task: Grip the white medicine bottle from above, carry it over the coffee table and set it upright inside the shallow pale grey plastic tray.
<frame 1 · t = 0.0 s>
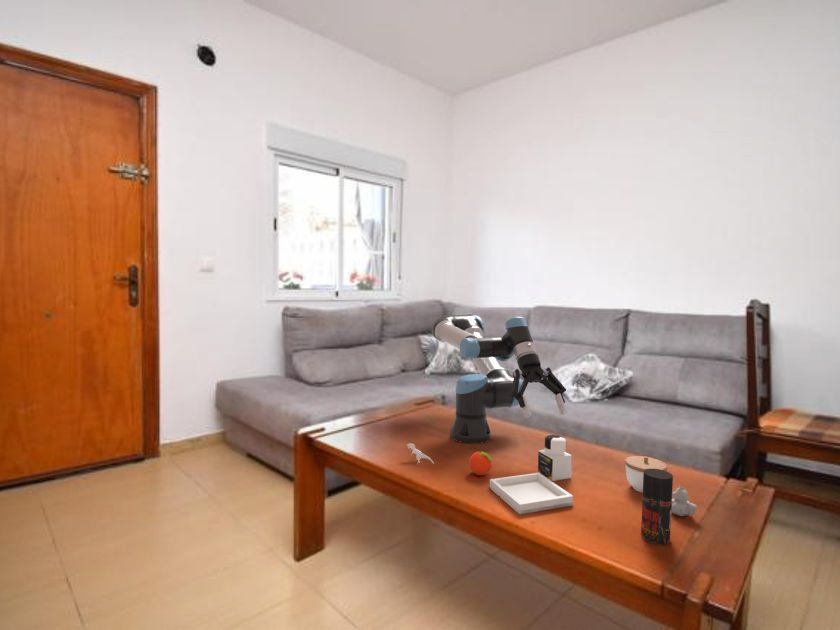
hand: (546, 415, 151), 15 cm above the table, tool tilted 35°, fingers open, 13 cm apart
dinosaur figurine: (418, 464, 149), on the table
tray: (529, 496, 126), on the table
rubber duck: (682, 516, 116), on the table
clementine: (481, 475, 140), on the table
medicine bottle: (554, 476, 140), on the table
deodorant: (655, 538, 106), on the table
lidded jar: (644, 489, 131), on the table
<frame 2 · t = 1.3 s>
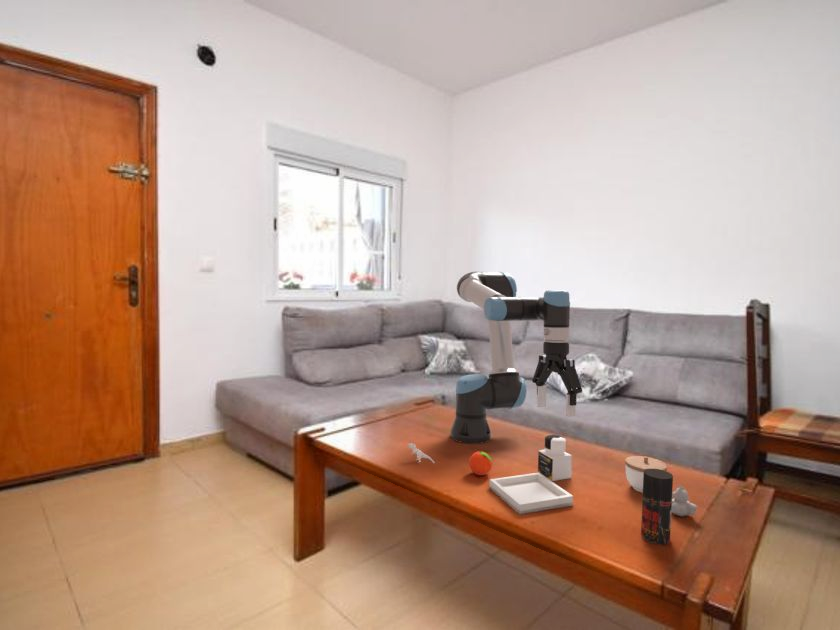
hand: (555, 411, 140), 19 cm above the table, tool pointing down, fingers open, 13 cm apart
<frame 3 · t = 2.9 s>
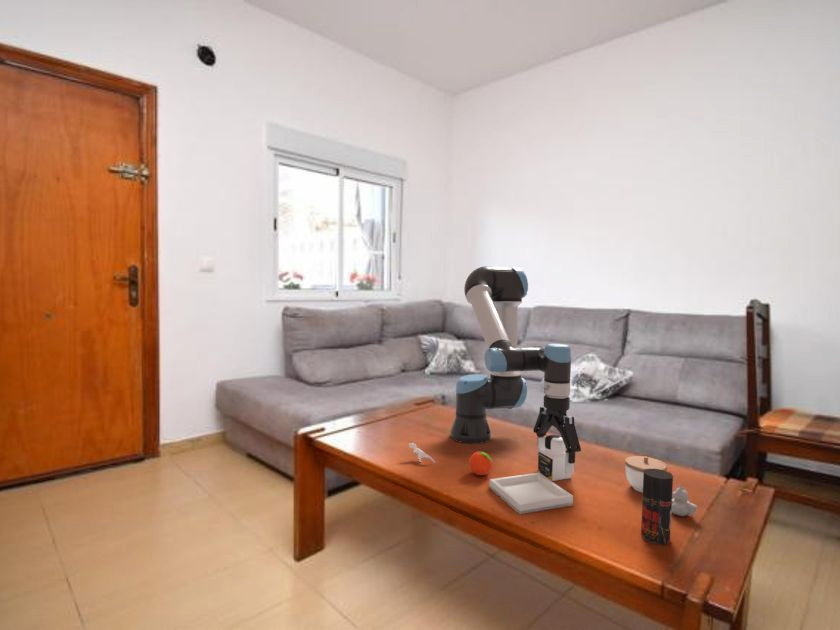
hand: (554, 465, 140), 3 cm above the table, tool pointing down, fingers open, 13 cm apart
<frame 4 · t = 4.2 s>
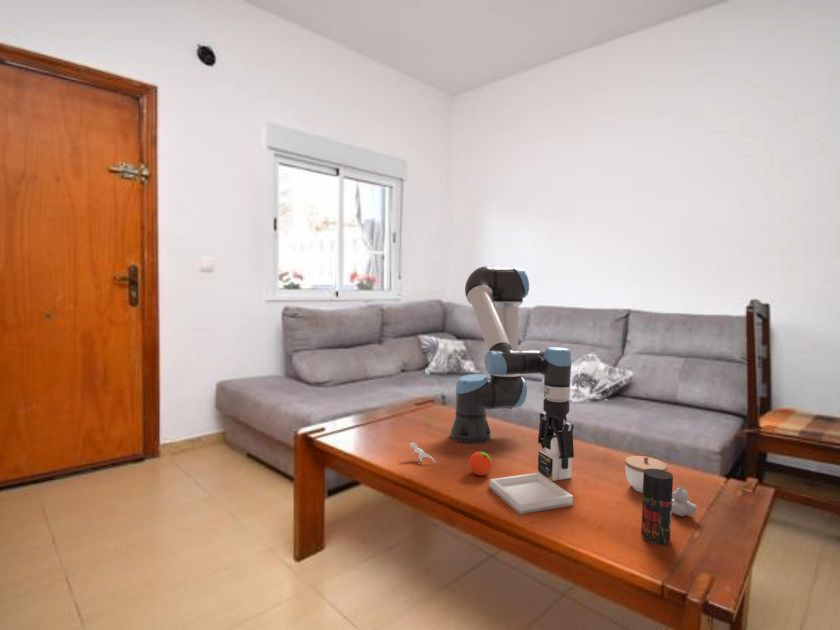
hand: (554, 473, 140), 1 cm above the table, tool pointing down, fingers closed on medicine bottle, 7 cm apart
medicine bottle: (554, 476, 140), on the table, touching gripper
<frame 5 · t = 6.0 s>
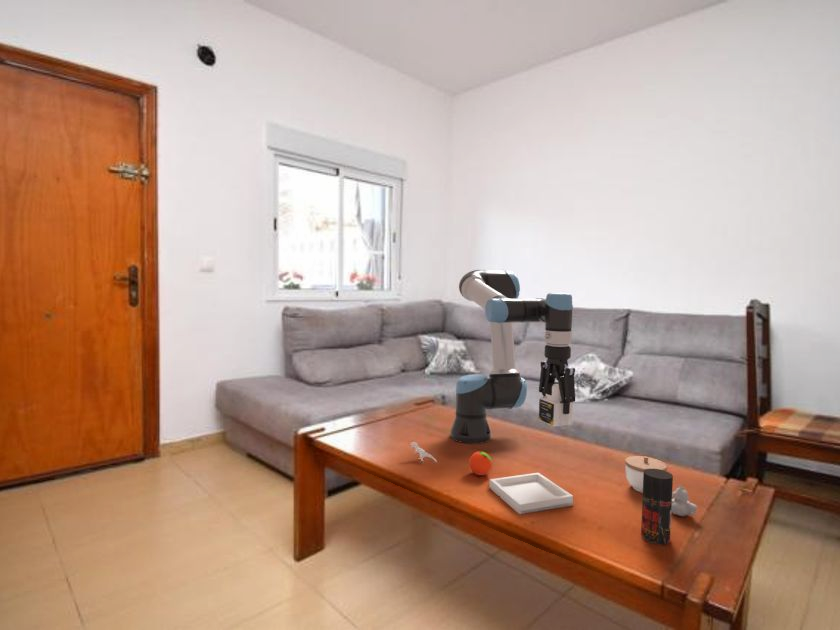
hand: (555, 420, 139), 17 cm above the table, tool pointing down, fingers closed on medicine bottle, 7 cm apart
medicine bottle: (555, 423, 139), point 16 cm above the table, touching gripper
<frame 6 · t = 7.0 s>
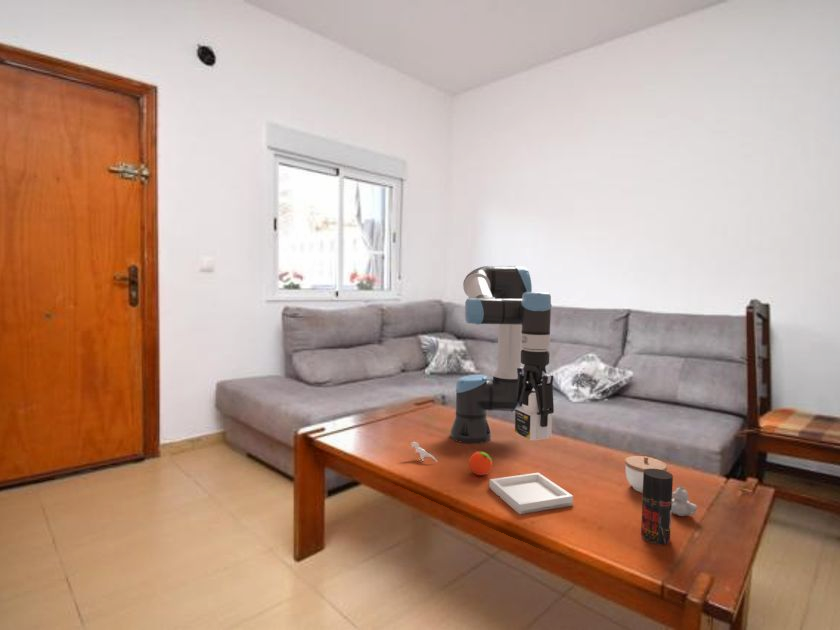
hand: (532, 433, 125), 17 cm above the table, tool pointing down, fingers closed on medicine bottle, 7 cm apart
medicine bottle: (532, 436, 125), point 16 cm above the table, touching gripper
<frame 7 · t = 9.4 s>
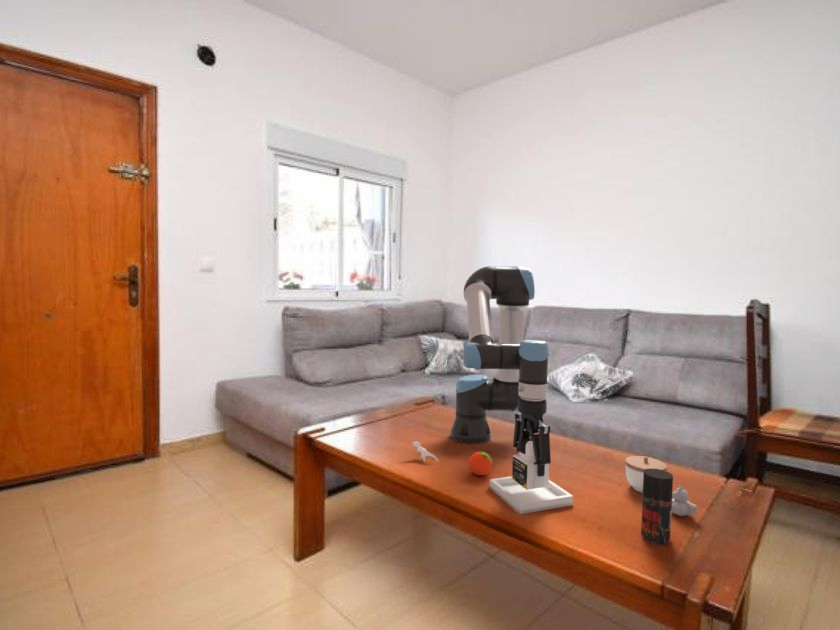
hand: (530, 480, 126), 4 cm above the table, tool pointing down, fingers closed on medicine bottle, 7 cm apart
medicine bottle: (530, 483, 126), point 3 cm above the table, touching gripper
when the fingers open (3 cm above the table, at t = 10.5 s): medicine bottle drops 2 cm, resting on tray.
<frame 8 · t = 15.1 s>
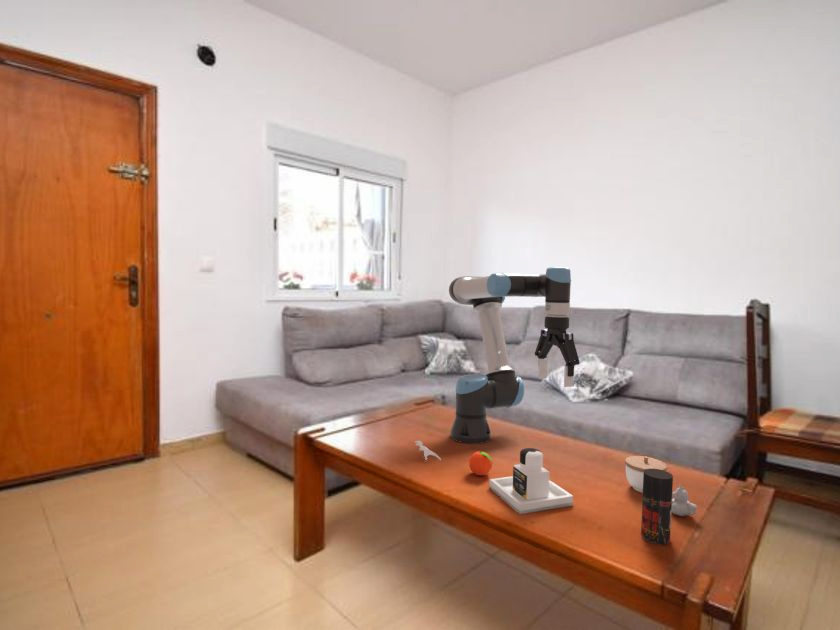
hand: (554, 382, 148), 27 cm above the table, tool pointing down, fingers open, 13 cm apart
dinosaur figurine: (425, 461, 152), on the table
medicine bottle: (530, 494, 126), point 1 cm above the table, touching tray
everything else where it was.
at the end: medicine bottle inside the target area on the tray (0.1 cm from its centre), point 0.6 cm above the tray's base; medicine bottle tilted 0°; the gripper is holding nothing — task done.
